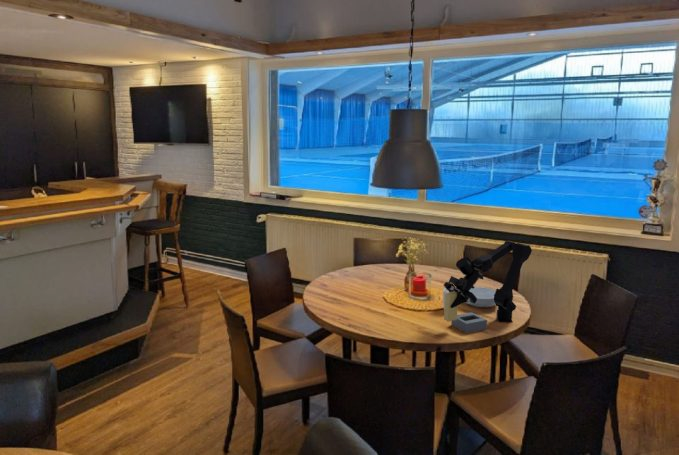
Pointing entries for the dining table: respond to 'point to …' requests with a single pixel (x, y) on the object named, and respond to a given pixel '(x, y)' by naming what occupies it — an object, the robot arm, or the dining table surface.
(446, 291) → the white cup
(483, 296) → the serving bowl
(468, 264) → the robot arm
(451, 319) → the pale yellow block
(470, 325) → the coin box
